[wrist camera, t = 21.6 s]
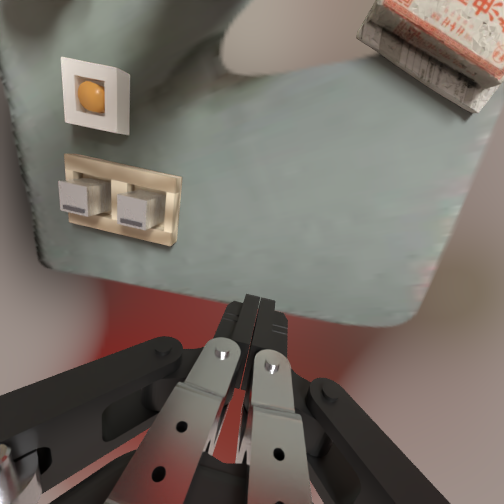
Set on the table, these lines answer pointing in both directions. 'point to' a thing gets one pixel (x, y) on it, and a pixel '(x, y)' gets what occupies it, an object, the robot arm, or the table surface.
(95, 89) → the button
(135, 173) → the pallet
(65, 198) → the steel billet
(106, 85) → the box
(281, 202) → the table surface
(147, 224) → the block
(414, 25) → the packaged product
